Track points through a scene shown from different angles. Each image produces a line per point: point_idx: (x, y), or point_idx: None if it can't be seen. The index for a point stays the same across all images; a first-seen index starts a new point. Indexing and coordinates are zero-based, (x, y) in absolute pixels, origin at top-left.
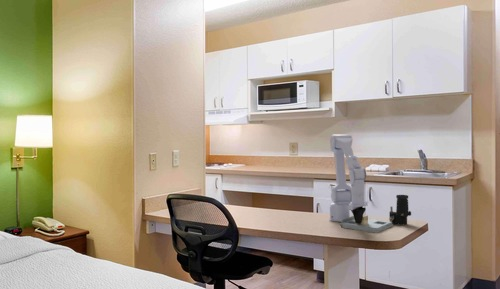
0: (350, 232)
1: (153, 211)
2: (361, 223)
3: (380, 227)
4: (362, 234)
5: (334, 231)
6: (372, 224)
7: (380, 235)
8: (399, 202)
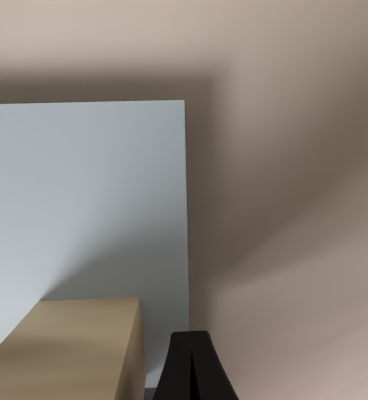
0: (312, 302)
1: None
2: (140, 336)
3: (74, 104)
4: (329, 189)
5: (343, 397)
6: (34, 245)
7: (274, 11)
8: None
